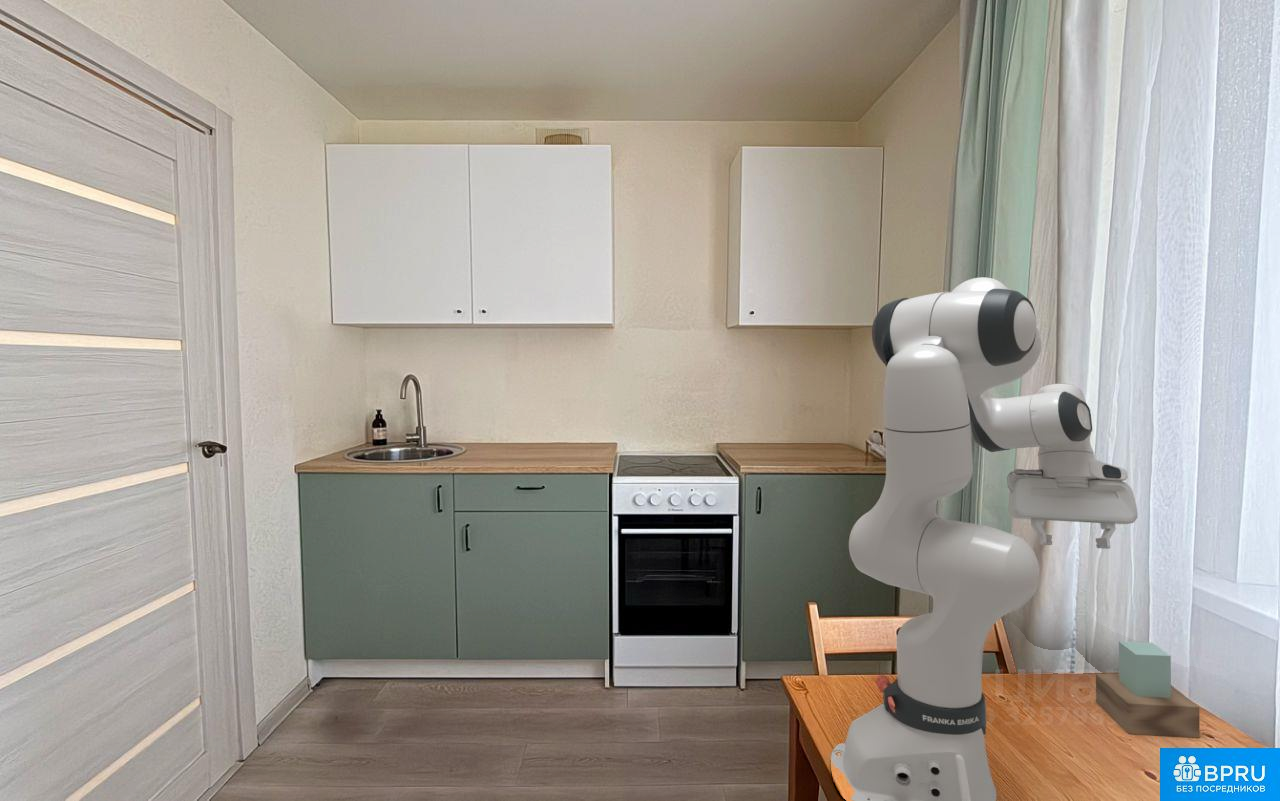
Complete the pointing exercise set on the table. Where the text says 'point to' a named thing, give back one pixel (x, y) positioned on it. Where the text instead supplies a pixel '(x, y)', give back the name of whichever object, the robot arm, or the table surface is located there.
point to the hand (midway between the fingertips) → (1074, 546)
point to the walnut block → (1147, 710)
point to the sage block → (1145, 669)
